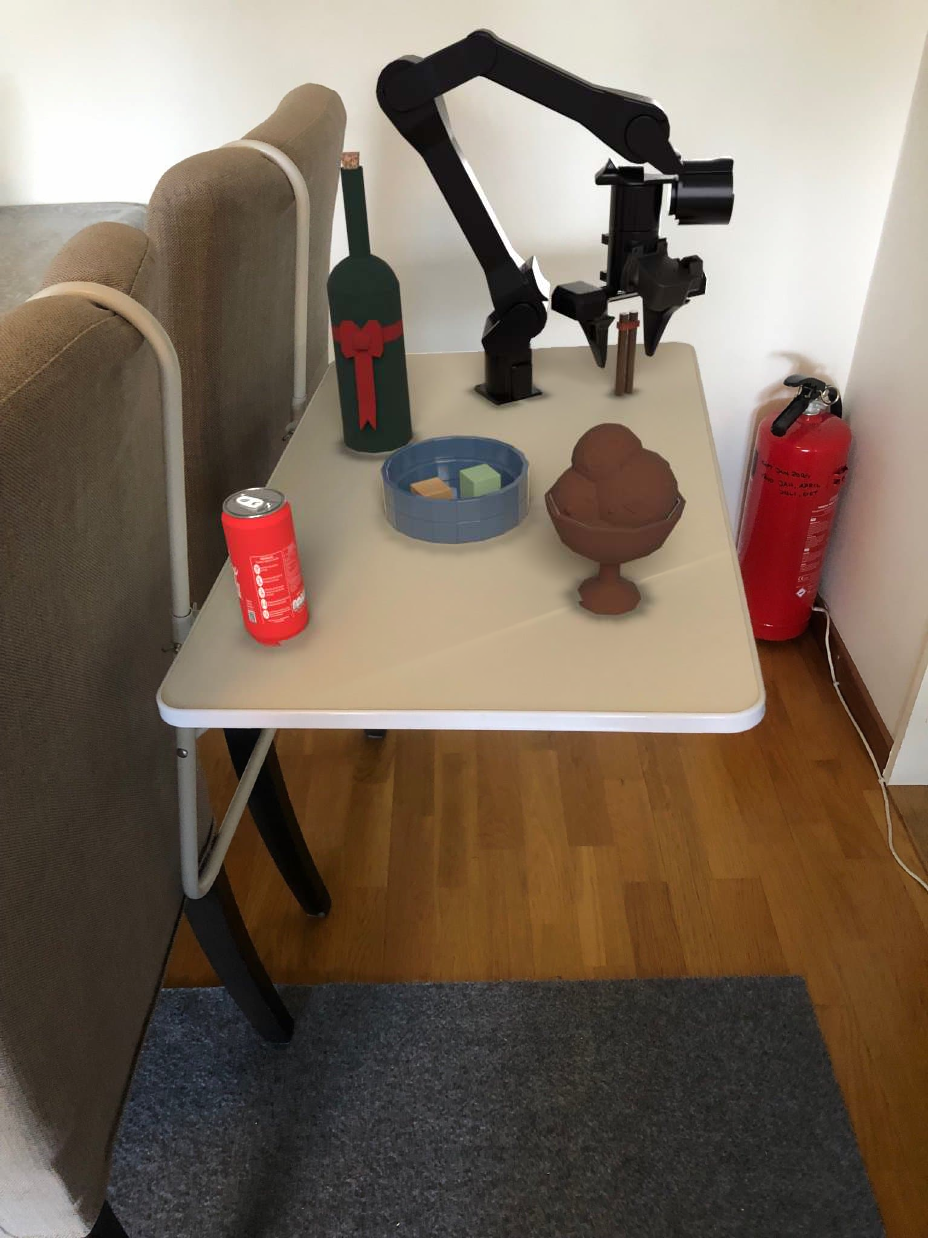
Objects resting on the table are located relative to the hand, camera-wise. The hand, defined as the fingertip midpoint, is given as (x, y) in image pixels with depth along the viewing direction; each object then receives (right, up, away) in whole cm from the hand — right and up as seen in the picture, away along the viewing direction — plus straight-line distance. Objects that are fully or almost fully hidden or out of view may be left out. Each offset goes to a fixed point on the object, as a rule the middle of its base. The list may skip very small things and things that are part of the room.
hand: (625, 361), depth 112 cm
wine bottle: (-30, -12, -8) cm, 33 cm away
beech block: (-23, -21, -22) cm, 38 cm away
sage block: (-18, -20, -20) cm, 34 cm away
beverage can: (-35, -33, -36) cm, 60 cm away
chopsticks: (0, -3, +2) cm, 4 cm away
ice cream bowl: (-7, -30, -34) cm, 46 cm away
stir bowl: (-20, -21, -21) cm, 36 cm away
